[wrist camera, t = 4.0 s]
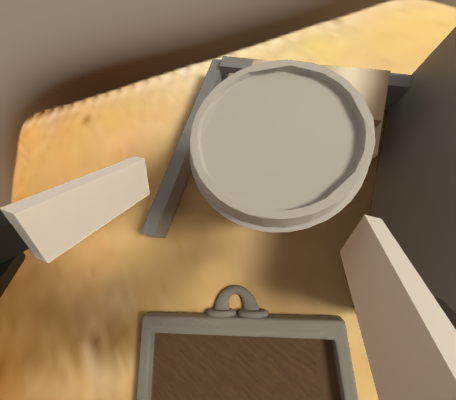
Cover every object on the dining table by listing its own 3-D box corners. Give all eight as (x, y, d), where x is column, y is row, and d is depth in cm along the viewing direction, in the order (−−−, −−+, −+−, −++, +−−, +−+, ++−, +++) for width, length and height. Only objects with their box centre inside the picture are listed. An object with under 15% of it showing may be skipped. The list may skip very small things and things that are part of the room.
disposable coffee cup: (323, 176, 20) (418, 78, 8) (287, 255, 18) (339, 275, 7) (245, 145, 22) (233, 36, 10) (208, 214, 21) (147, 176, 9)
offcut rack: (404, 100, 20) (539, -30, 11) (371, 313, 16) (544, 419, 6) (217, 76, 25) (192, -27, 16) (154, 233, 21) (67, 225, 11)
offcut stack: (373, 117, 21) (418, 68, 15) (365, 164, 19) (411, 130, 14) (227, 97, 24) (217, 52, 19) (213, 135, 23) (199, 99, 18)
